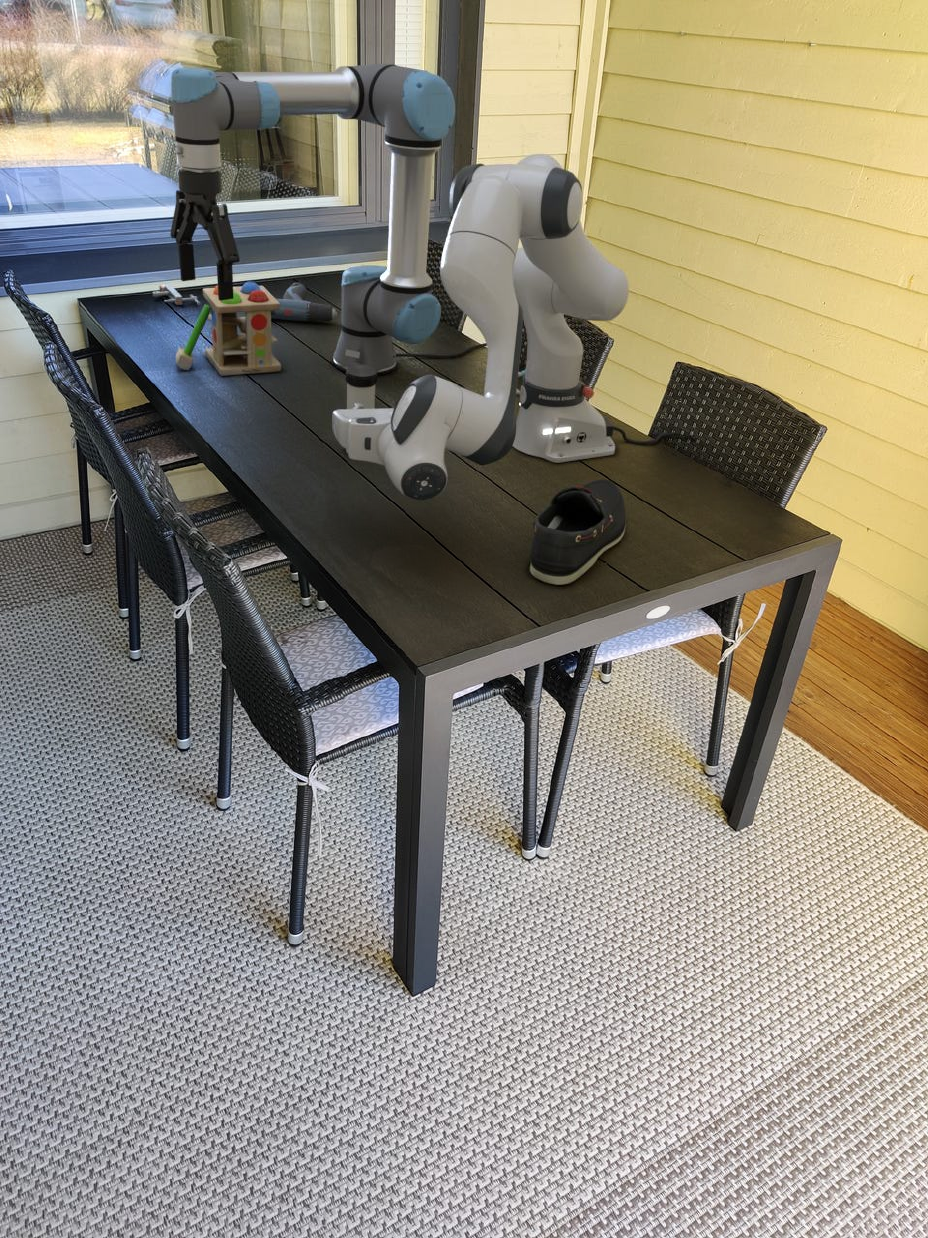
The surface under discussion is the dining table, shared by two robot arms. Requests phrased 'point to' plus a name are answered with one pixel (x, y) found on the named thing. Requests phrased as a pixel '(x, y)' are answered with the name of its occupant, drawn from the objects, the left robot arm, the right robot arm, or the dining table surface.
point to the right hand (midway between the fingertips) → (384, 406)
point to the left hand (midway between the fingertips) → (206, 289)
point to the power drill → (301, 307)
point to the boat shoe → (576, 531)
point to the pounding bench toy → (229, 347)
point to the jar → (360, 397)
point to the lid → (361, 376)
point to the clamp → (173, 295)
